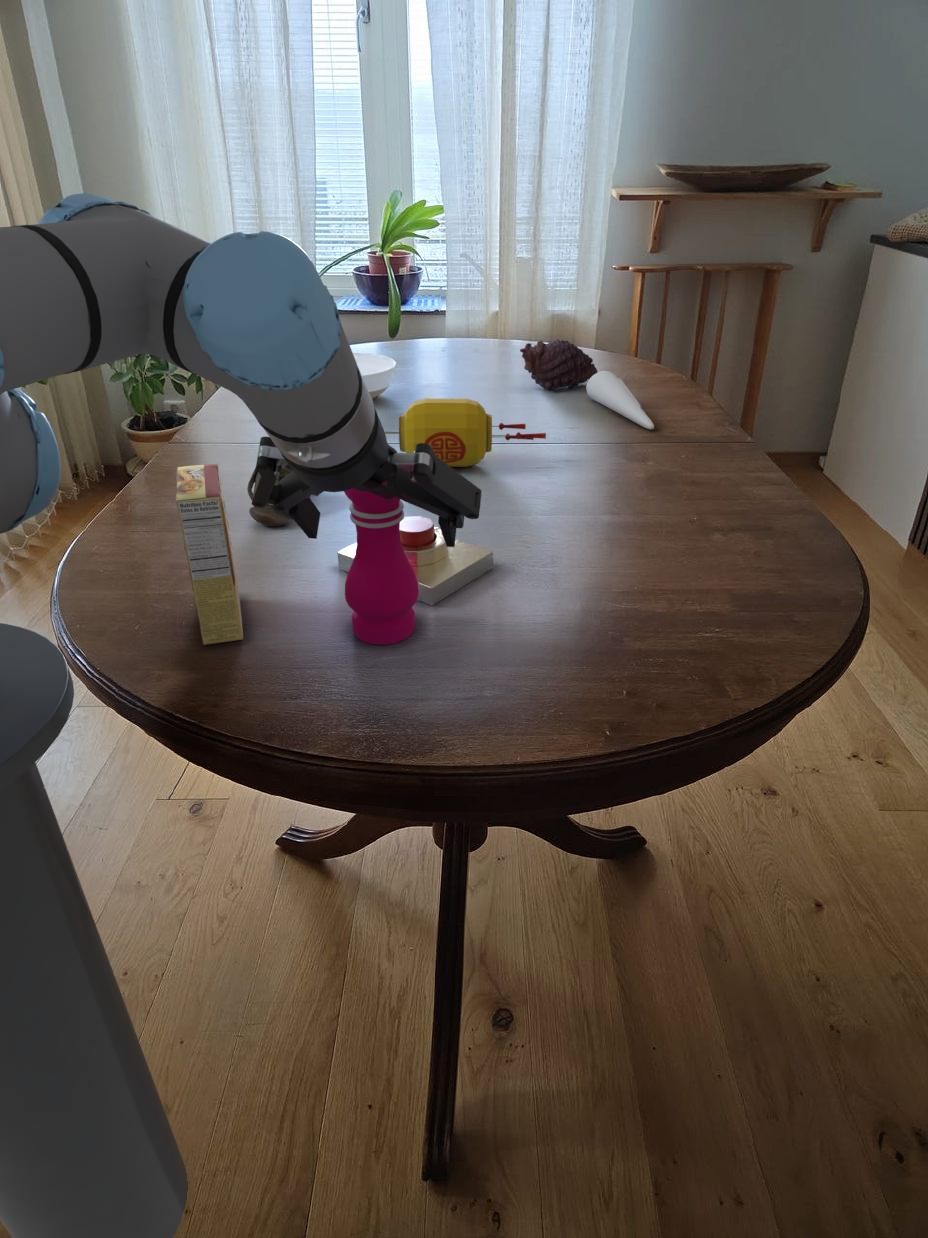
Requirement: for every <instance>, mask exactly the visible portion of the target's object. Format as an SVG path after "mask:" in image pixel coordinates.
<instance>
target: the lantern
mask: <svg viewBox="0 0 928 1238" xmlns="http://www.w3.org/2000/svg"><path fill="white" fill-rule="evenodd" d="M526 425H527V424H526V423H513V424H504V423H503V422H500V423H499V424H498V425H493V415H492V414H490V413H487V412H486V410H485V407H483V406H482V404H480V402H479V401H477V400H472V399H470V398H423V399H420V400H416V401H414V402H413V403H412V404H410V405H409V406H408V407H407V409H406V411H405V413H403V414H399V418H398V431H384V432H385V435H386V434H387V435H398V442H399V451H400V452H401V453H413V452H415V449H416V445H417V444H419V443H425V444H428V445H430V446H431V447H432V449H433V451H434V453H435V455H436V456H437V457H438V458H439V459H441V460H442V461H443V462H445V463H446V464H447V465H449V466H450V467H451V468H468V467H471V466H475V465H478V464H479V463H480V462H481V461H482V460H483V459H484V458H485V455H486V453H490V452H492V449H493V447H492V446H493V437H504V438H505V440H506V441H510V440H512V439H514V440H531V441H534V439H543V440H545V439H546V438H547V433H546V432H539V433H537V432H536V433H521V432H519V431H518V432H516V434H515V435H514V434H510V433H506V434H493V427H494V428H495V427H496V428H498V429H499V430H500V431H503V430H504V429H515V430H526V428H527V427H526Z"/></svg>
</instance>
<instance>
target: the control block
mask: <svg viewBox="0 0 928 1238" xmlns="http://www.w3.org/2000/svg"><path fill="white" fill-rule="evenodd" d="M356 547H357V542H355V543H353V544H351V545H348V546H347V547H345V548H343V549H341V550H339V551H337V564H338V570H341V571H343V572H346V573H348V572H349V569H350V566H351V564H352V562H353V559H354V557H355V553H356ZM403 550H404V552H405V554H406V556H407V558H408V560H409V562H410V564H411V565H412V567H413V569H414V572H415V575H416V578H417V581H418V589H419V594H418V599H417V601H419V602H421V603H424V604H427V605H428V606H432V607H433V606H434V605H436V604H437V603H439V602H440V601H443V600H444V599H445V598H447V597H449V596H451V595H452V594H453V593H455V592H457V591H459V590H460V589H462V588H463V587H465V586H467V585H469V584H470V583H471V582H473V581H475V580H476V579H478V578H480V577H481V576H482V575H485V574H486V573H487V572H489V571H490V570H492V569H493V568H494V567H493V566H494V551H493V550H490V549H487V548H485V547H481V546H478V545H475V544H472V543H469V542H466V541H463V540H460V539H457V538H455V547H447V546H446V543H445V540H444V537H443V534H442V532H441V529H440V527H437V526H435V525H434V542H433V543H431V544H429V545H426V546H420V547H405V546H403Z"/></svg>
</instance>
